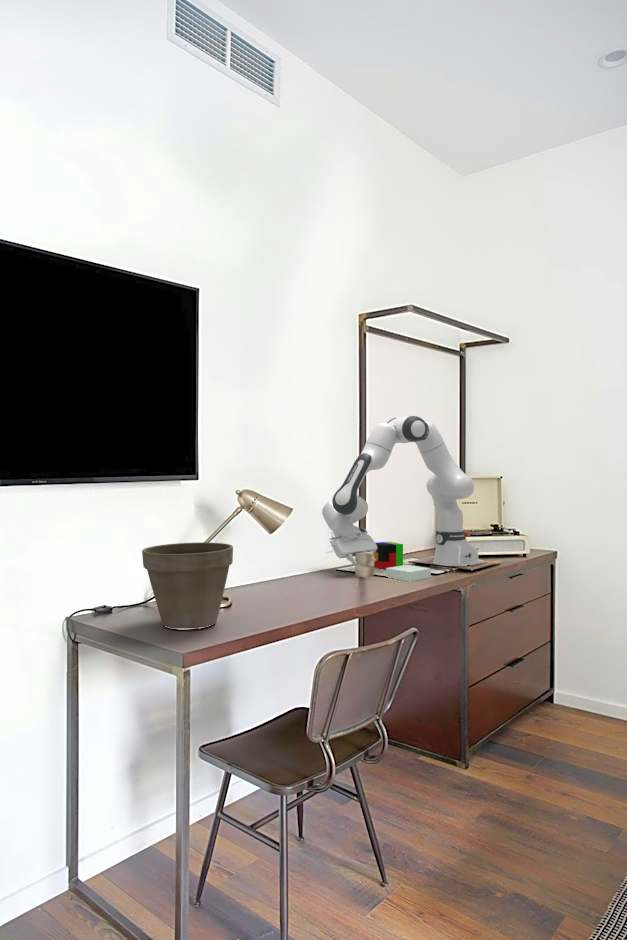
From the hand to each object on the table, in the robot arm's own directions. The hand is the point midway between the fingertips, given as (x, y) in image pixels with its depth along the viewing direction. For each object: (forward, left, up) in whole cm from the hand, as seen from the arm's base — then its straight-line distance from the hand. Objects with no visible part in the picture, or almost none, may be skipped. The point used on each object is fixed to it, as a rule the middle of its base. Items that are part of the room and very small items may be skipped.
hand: (365, 563), depth 266 cm
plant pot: (+86, +36, -5) cm, 93 cm away
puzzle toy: (-20, -12, -5) cm, 24 cm away
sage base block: (-12, +12, -5) cm, 17 cm away
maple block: (0, 0, -5) cm, 5 cm away
